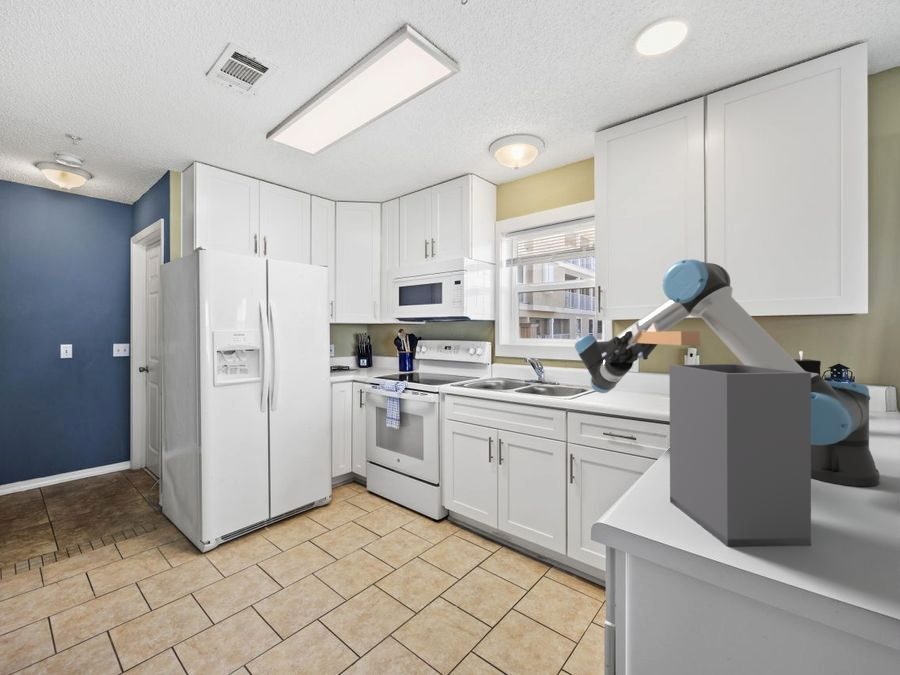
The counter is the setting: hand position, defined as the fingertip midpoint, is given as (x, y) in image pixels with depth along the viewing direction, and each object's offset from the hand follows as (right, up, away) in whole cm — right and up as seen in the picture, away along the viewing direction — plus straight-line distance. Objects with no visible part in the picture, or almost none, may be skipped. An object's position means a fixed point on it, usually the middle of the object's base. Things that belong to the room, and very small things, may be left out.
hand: (647, 327), depth 108 cm
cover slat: (0, -4, -5) cm, 7 cm away
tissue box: (+73, -36, +38) cm, 89 cm away
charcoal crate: (+2, -38, -30) cm, 48 cm away
